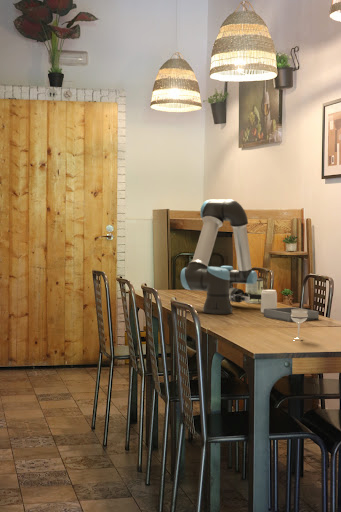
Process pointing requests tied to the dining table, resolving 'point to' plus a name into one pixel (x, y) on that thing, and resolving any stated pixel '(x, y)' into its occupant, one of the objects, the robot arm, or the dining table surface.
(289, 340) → the dining table surface
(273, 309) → the bin
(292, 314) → the wineglass
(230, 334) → the dining table surface
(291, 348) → the dining table surface
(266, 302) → the beverage can
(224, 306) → the robot arm
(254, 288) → the coffee can
